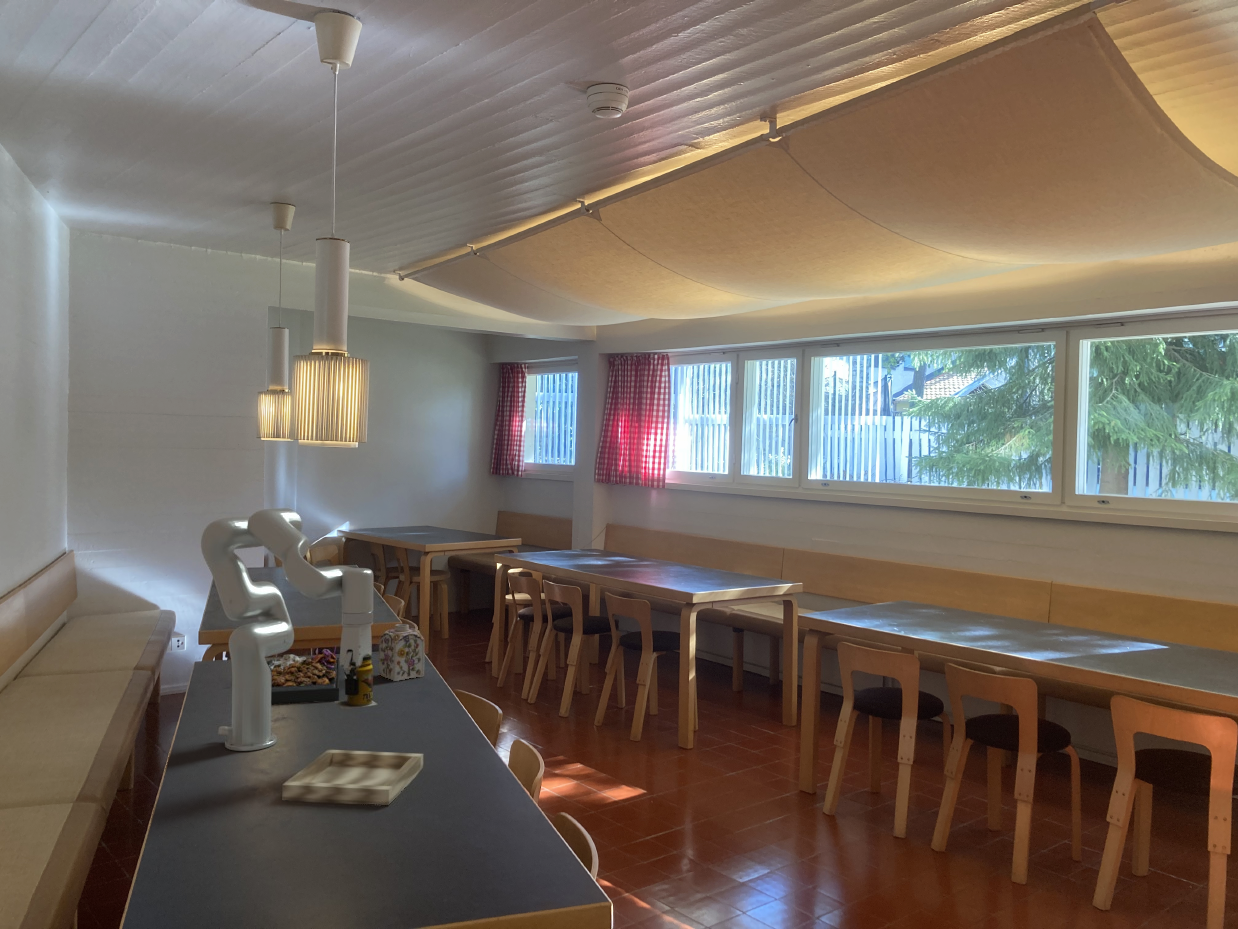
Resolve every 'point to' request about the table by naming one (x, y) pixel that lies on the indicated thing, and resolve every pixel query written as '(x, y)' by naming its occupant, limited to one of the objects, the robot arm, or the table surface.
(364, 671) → the condiment
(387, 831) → the table surface
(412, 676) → the decorative jar
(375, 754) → the tray
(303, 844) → the table surface
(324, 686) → the food platter
